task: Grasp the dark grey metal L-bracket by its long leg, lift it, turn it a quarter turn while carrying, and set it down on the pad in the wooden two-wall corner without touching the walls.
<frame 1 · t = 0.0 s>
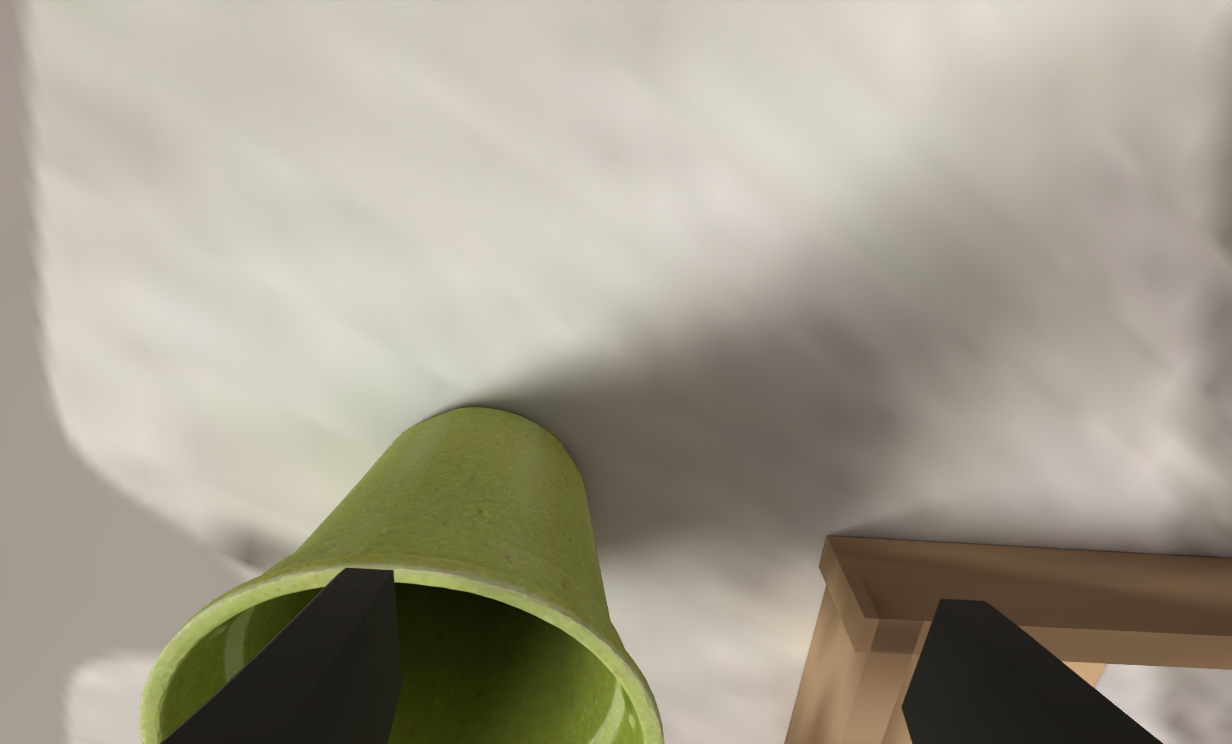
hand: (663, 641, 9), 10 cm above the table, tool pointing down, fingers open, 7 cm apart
plant pot: (487, 490, 20), on the table
walls: (969, 727, 25), on the table
pad: (952, 717, 24), on the table
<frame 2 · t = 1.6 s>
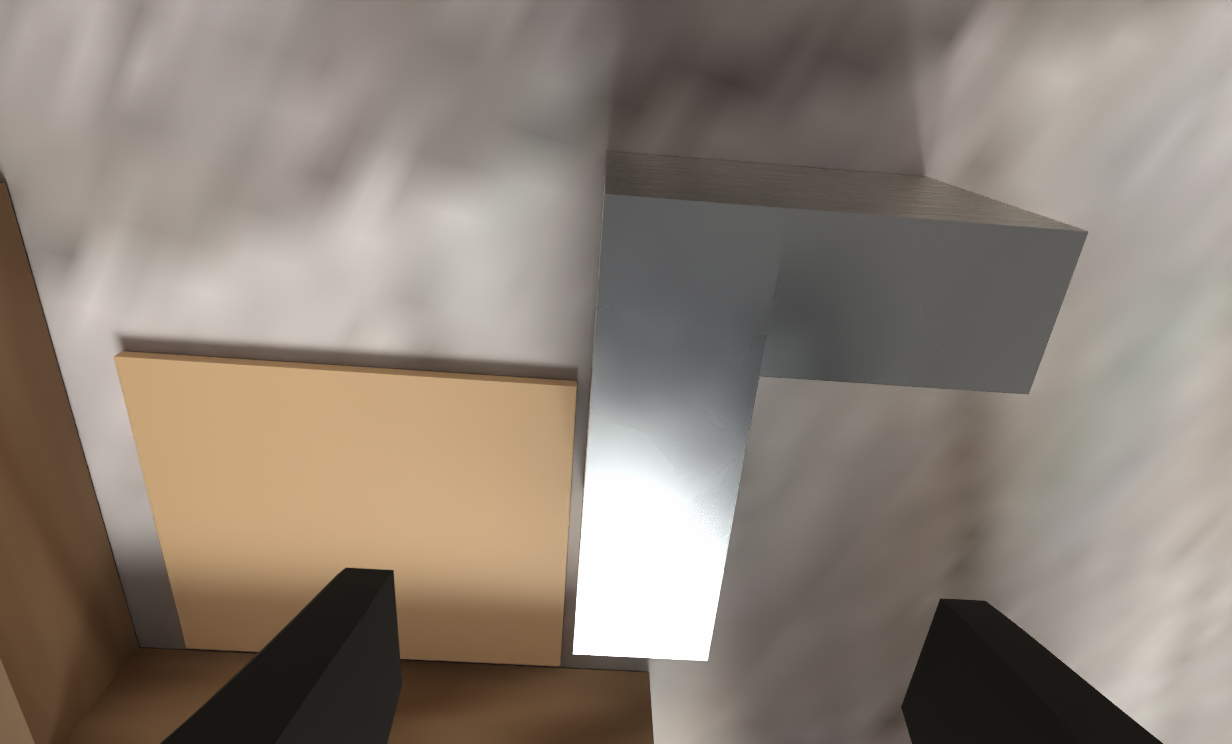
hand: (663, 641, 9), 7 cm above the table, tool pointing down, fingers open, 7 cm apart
bracket: (647, 344, 15), on the table
walls: (385, 498, 16), on the table
pad: (367, 522, 17), on the table
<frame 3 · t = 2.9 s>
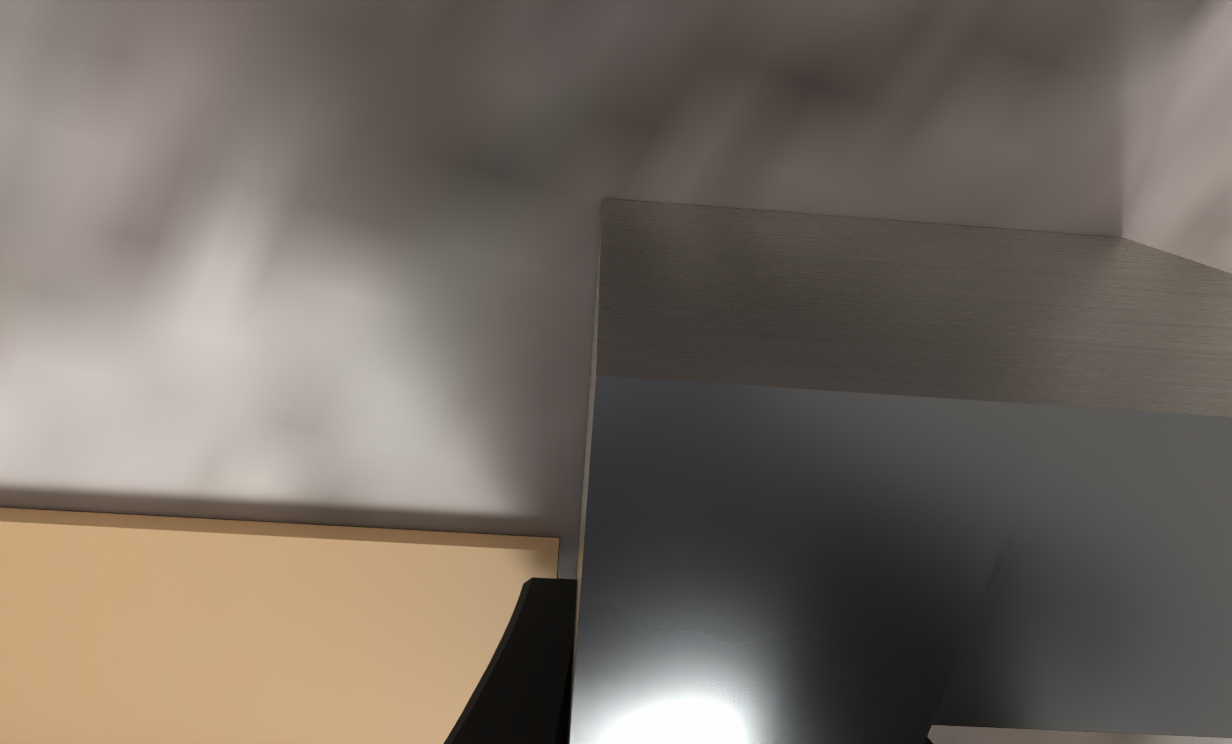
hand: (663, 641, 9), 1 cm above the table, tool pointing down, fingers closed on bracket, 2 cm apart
bracket: (666, 487, 10), on the table, touching gripper
pad: (257, 721, 12), on the table
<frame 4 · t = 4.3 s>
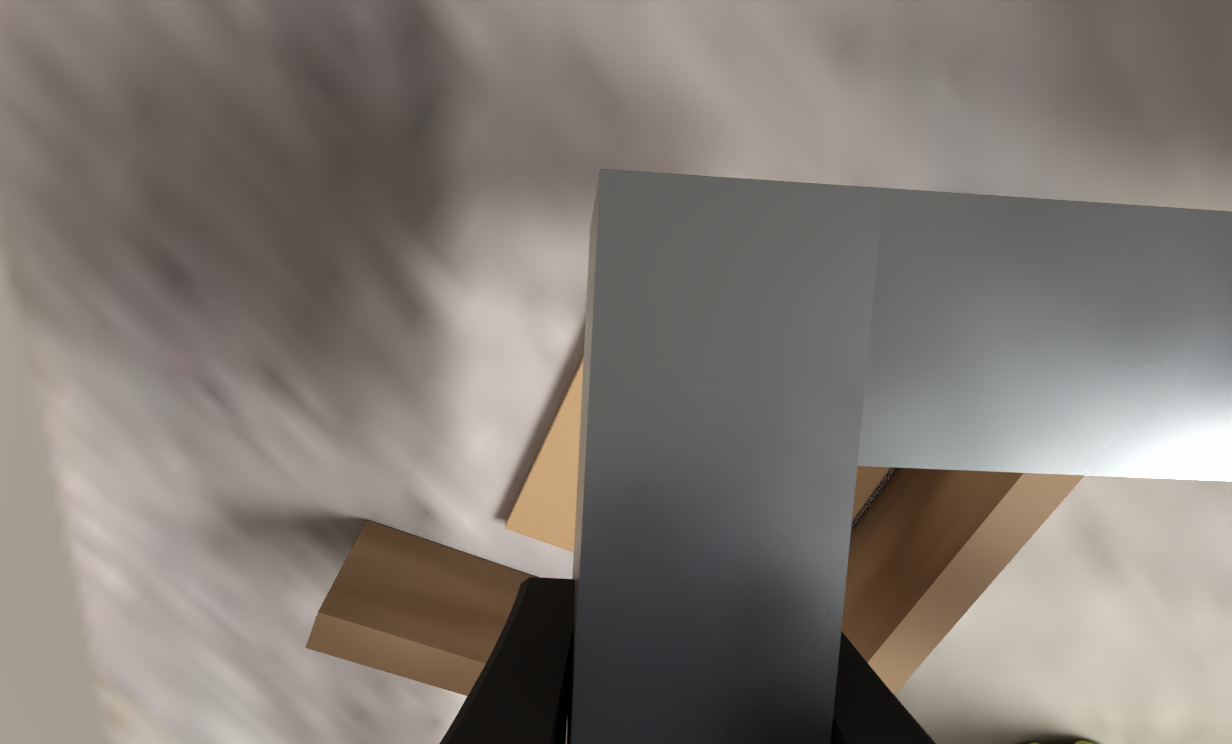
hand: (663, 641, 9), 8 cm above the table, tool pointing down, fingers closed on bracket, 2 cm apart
bracket: (650, 481, 11), point 6 cm above the table, tilted 18°, touching gripper
walls: (712, 404, 17), on the table
pad: (729, 430, 17), on the table
when the fingers open (2 cm above the table, at t = 5.9 s): bracket stays where it is, resting on pad.
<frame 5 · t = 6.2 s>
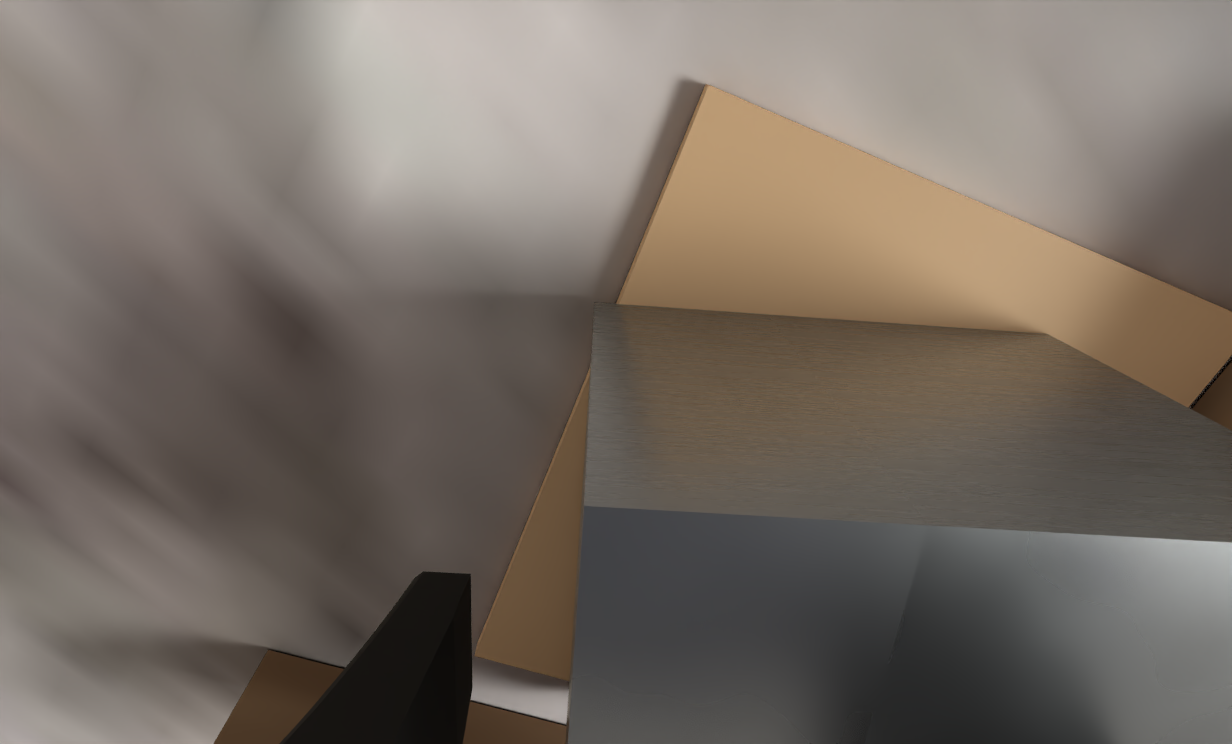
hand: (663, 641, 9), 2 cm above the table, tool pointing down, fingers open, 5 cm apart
bracket: (653, 548, 11), resting on pad, touching gripper
walls: (789, 459, 11), on the table
pad: (815, 497, 11), on the table
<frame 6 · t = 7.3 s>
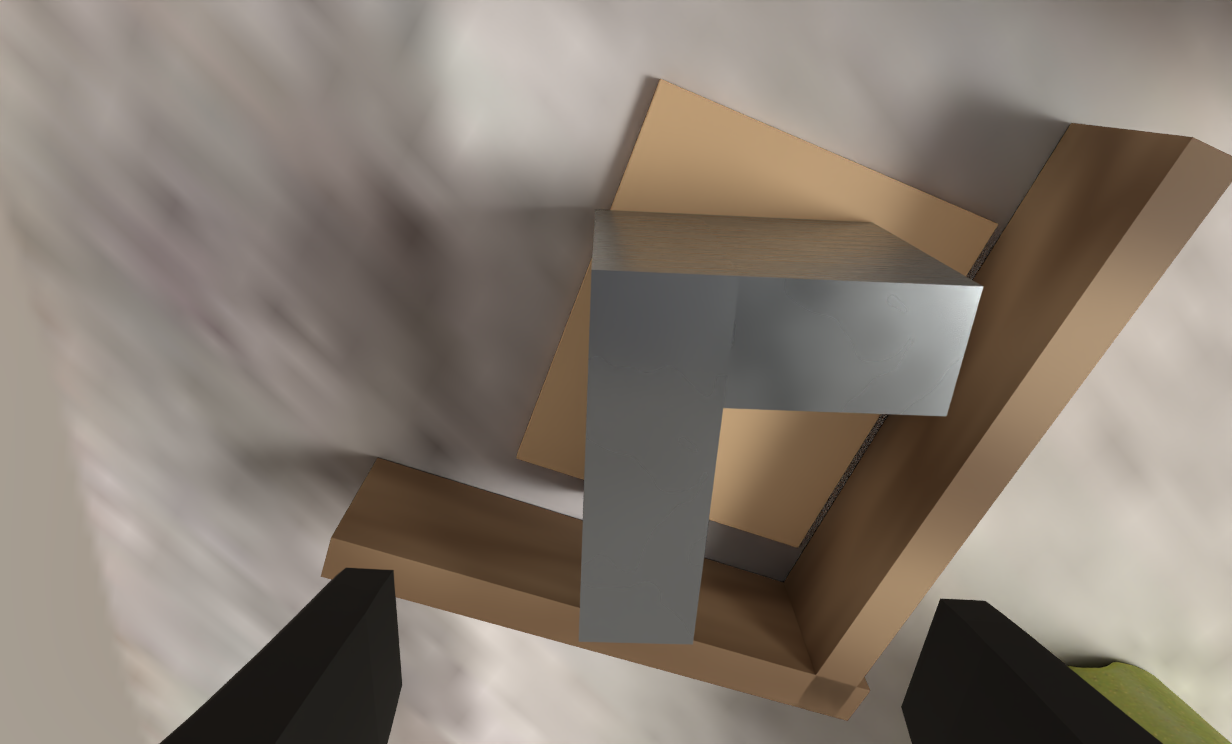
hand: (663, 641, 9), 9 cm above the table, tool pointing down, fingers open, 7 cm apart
bracket: (637, 371, 17), resting on pad
plant pot: (1067, 715, 23), on the table
walls: (719, 317, 17), on the table
pad: (737, 345, 17), on the table
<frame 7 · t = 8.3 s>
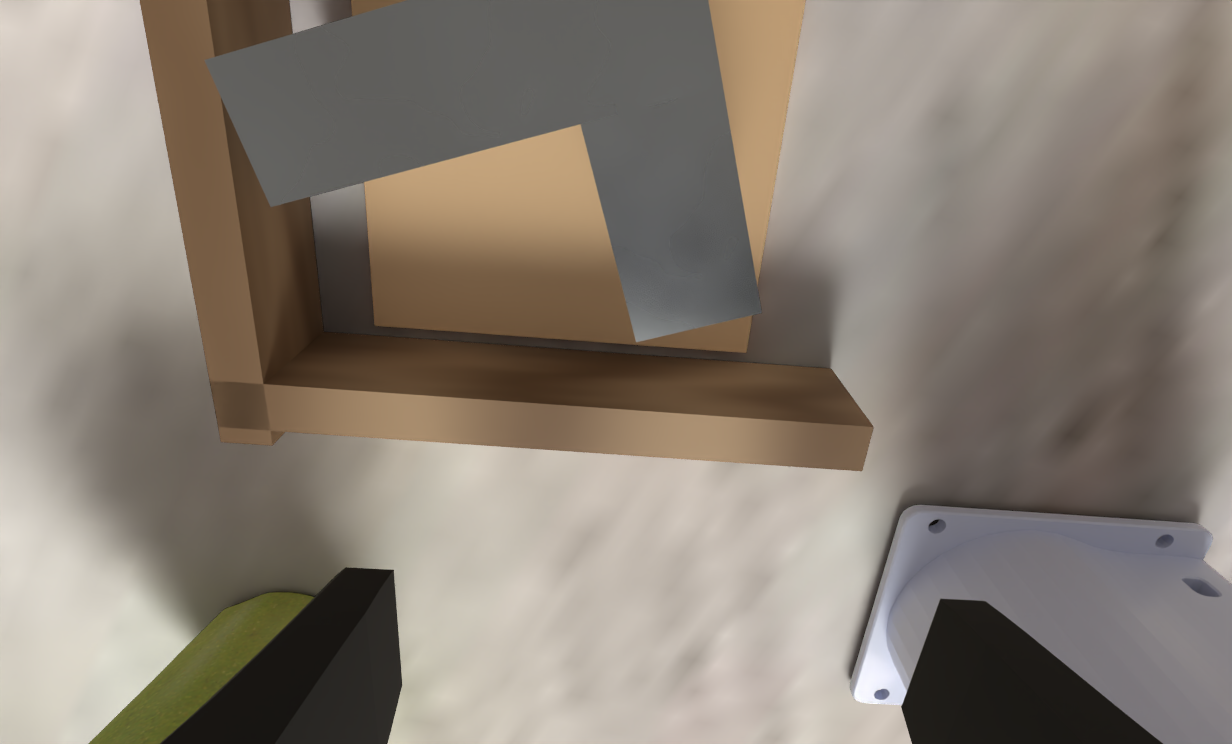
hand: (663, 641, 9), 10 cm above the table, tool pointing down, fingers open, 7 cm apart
bracket: (510, 73, 15), resting on pad
plant pot: (302, 650, 23), on the table
walls: (592, 144, 16), on the table
pad: (570, 175, 17), on the table
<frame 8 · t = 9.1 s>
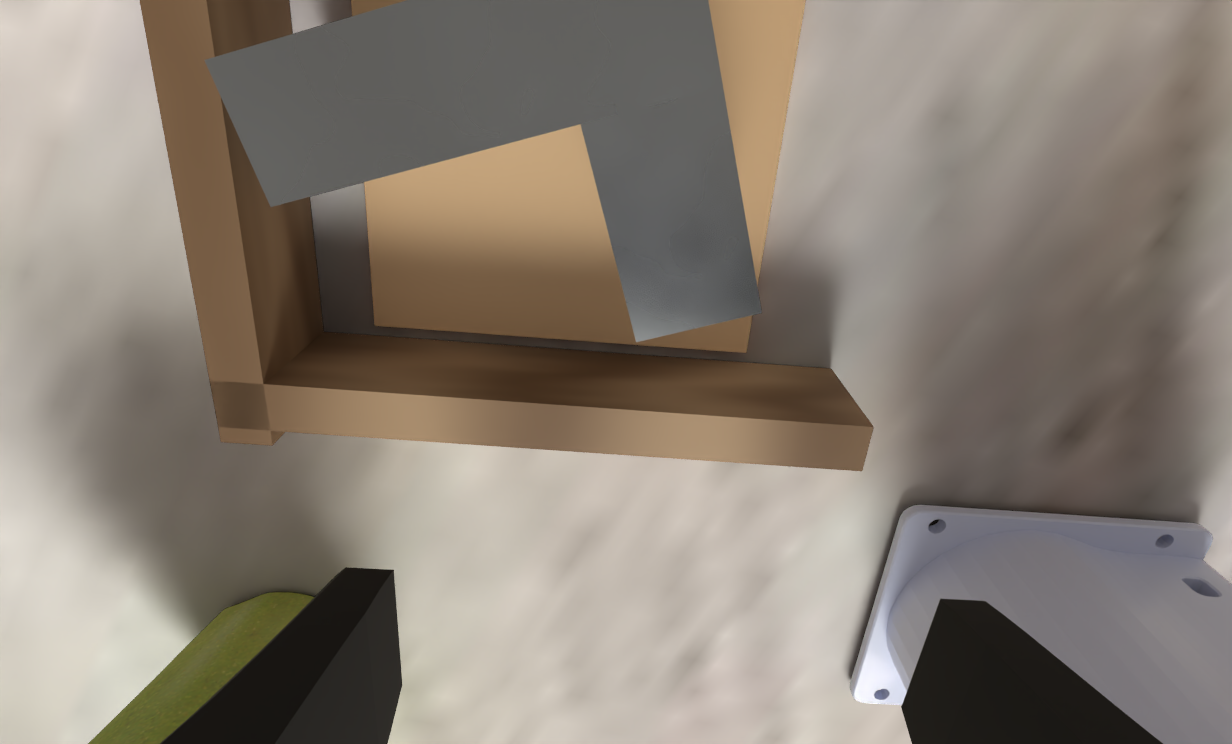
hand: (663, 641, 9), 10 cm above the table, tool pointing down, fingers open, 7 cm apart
bracket: (510, 73, 15), resting on pad
plant pot: (302, 650, 23), on the table
walls: (592, 144, 16), on the table
pad: (570, 175, 17), on the table
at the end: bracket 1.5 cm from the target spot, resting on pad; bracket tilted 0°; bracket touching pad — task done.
